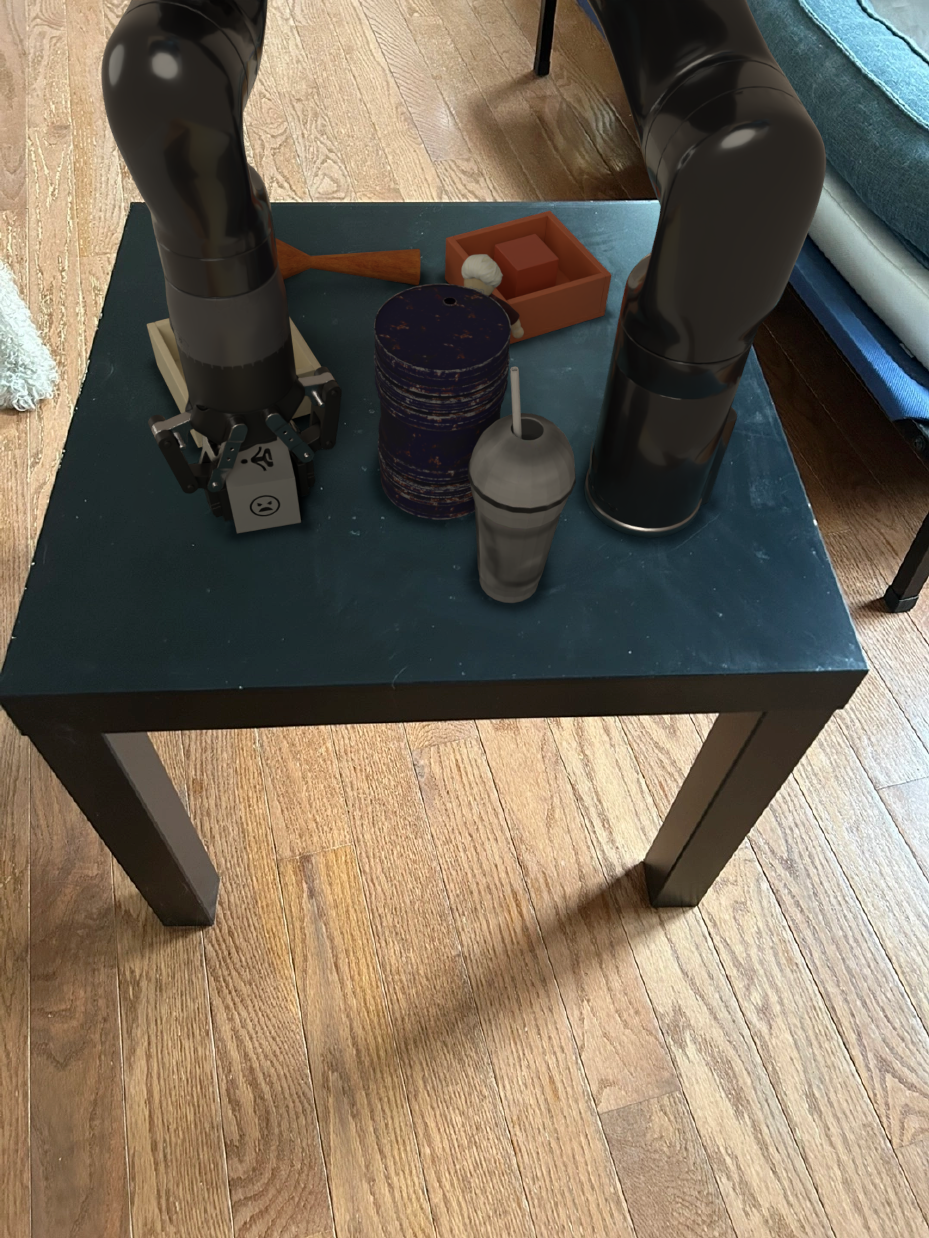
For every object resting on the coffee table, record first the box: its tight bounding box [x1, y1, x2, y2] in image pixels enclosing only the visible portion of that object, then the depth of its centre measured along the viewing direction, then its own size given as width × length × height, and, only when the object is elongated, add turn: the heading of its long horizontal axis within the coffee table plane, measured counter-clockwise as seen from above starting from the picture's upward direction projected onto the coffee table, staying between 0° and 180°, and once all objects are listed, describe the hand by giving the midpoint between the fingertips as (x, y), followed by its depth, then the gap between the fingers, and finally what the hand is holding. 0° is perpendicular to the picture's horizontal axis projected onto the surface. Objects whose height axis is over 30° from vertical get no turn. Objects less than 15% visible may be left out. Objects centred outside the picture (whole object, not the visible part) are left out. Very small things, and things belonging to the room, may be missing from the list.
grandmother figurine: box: [462, 254, 524, 339], centre depth 84 cm, size 8×4×13 cm, turn 91°
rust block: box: [494, 234, 559, 301], centre depth 94 cm, size 4×4×4 cm
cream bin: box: [146, 316, 322, 448], centre depth 86 cm, size 11×11×4 cm
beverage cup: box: [468, 366, 577, 604], centre depth 68 cm, size 7×7×20 cm
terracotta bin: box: [444, 210, 613, 345], centre depth 95 cm, size 11×11×4 cm
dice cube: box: [225, 437, 302, 534], centre depth 77 cm, size 5×5×5 cm
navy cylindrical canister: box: [373, 283, 511, 521], centre depth 76 cm, size 10×10×15 cm
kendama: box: [275, 237, 421, 286], centre depth 94 cm, size 6×6×20 cm
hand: (263, 500), depth 79 cm, fingers closed on dice cube, 5 cm apart
